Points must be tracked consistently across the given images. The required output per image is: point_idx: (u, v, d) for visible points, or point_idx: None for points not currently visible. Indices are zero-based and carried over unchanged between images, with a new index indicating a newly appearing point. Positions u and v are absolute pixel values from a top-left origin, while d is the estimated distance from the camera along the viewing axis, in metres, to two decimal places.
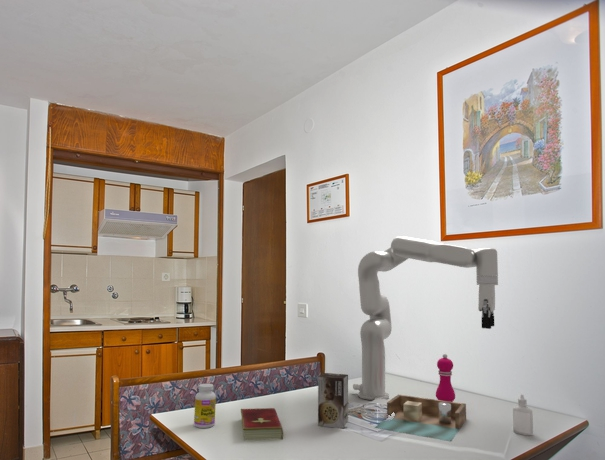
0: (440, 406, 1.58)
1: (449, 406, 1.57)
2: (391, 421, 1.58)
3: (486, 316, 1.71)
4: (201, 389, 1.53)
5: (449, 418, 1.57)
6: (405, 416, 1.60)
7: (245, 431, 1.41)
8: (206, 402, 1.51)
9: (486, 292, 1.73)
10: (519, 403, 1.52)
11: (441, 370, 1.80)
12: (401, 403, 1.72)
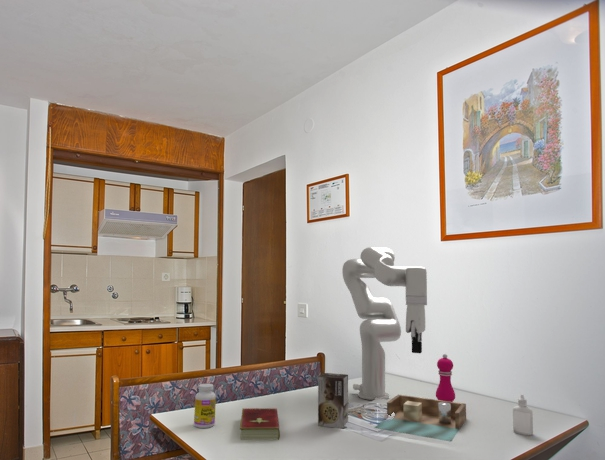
0: (440, 406, 1.58)
1: (449, 406, 1.57)
2: (391, 421, 1.58)
3: None
4: (201, 389, 1.53)
5: (449, 418, 1.57)
6: (405, 416, 1.60)
7: (242, 431, 1.41)
8: (205, 402, 1.51)
9: (413, 313, 1.66)
10: (519, 403, 1.52)
11: (441, 370, 1.80)
12: (401, 403, 1.72)
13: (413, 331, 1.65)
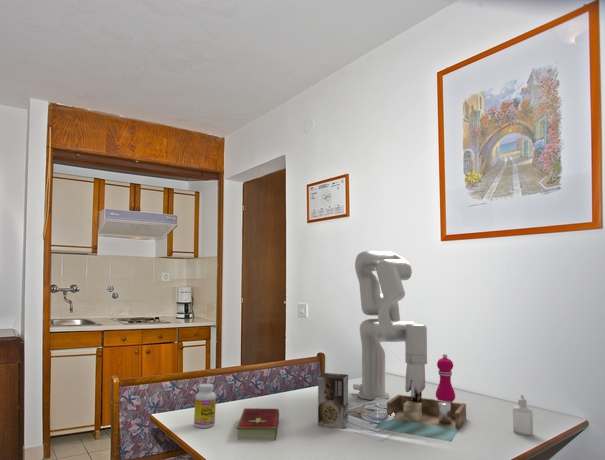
0: (440, 406, 1.58)
1: (449, 405, 1.57)
2: (391, 421, 1.58)
3: None
4: (201, 389, 1.53)
5: (449, 418, 1.57)
6: (405, 416, 1.60)
7: (239, 430, 1.42)
8: (206, 402, 1.51)
9: (413, 373, 1.63)
10: (519, 403, 1.52)
11: (441, 370, 1.80)
12: (401, 403, 1.72)
13: (413, 391, 1.62)
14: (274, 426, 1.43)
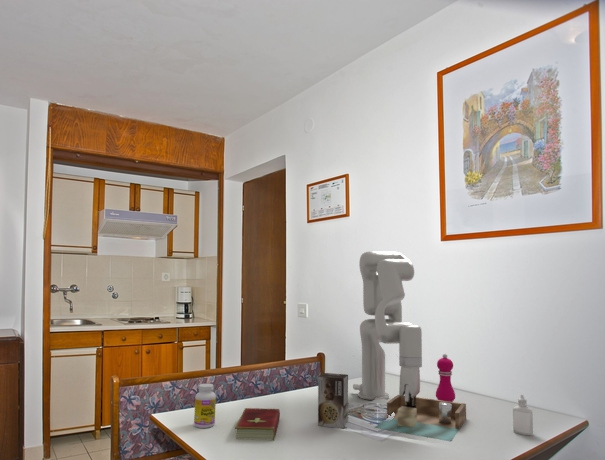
0: (441, 406, 1.57)
1: (450, 406, 1.57)
2: (391, 421, 1.58)
3: None
4: (201, 389, 1.53)
5: (450, 418, 1.57)
6: (399, 422, 1.54)
7: (237, 430, 1.42)
8: (206, 402, 1.51)
9: (407, 376, 1.57)
10: (519, 403, 1.52)
11: (441, 370, 1.80)
12: (401, 403, 1.72)
13: (407, 396, 1.56)
14: (272, 426, 1.43)
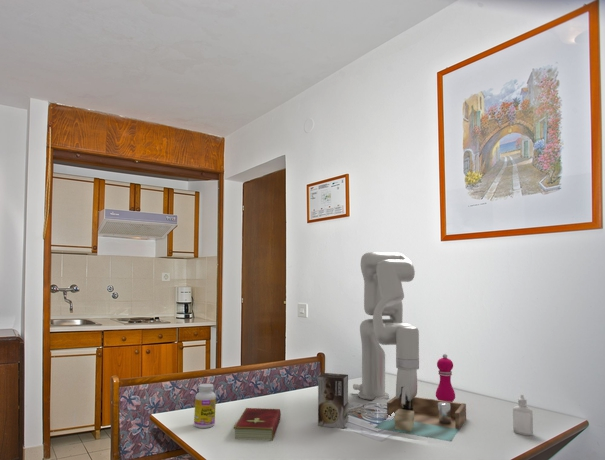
0: (440, 406, 1.57)
1: (449, 405, 1.57)
2: (391, 421, 1.58)
3: None
4: (201, 389, 1.53)
5: (449, 417, 1.57)
6: (397, 425, 1.50)
7: (236, 430, 1.42)
8: (206, 402, 1.51)
9: (403, 379, 1.53)
10: (519, 403, 1.52)
11: (441, 370, 1.80)
12: None
13: (404, 398, 1.52)
14: (271, 426, 1.43)
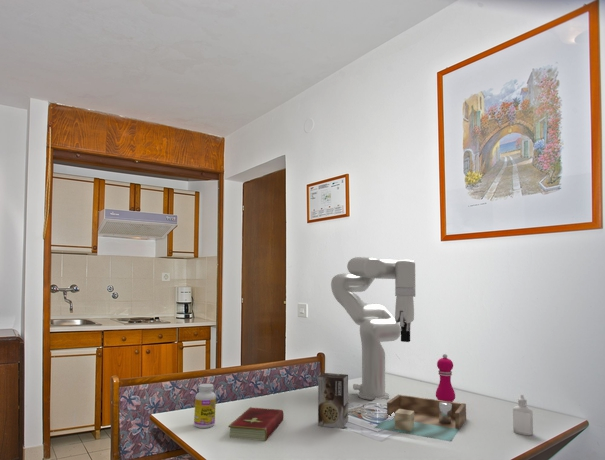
0: (443, 406, 1.57)
1: (451, 405, 1.58)
2: (391, 421, 1.58)
3: (405, 331, 1.77)
4: (201, 389, 1.53)
5: (450, 417, 1.57)
6: (397, 425, 1.50)
7: (230, 429, 1.43)
8: (206, 402, 1.51)
9: (402, 304, 1.75)
10: (519, 403, 1.52)
11: (441, 370, 1.80)
12: (401, 403, 1.72)
13: (402, 321, 1.74)
14: (265, 427, 1.42)
